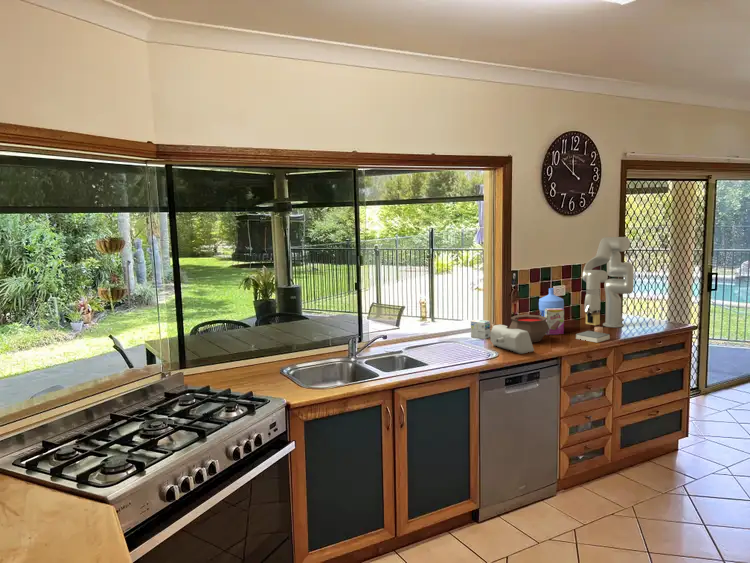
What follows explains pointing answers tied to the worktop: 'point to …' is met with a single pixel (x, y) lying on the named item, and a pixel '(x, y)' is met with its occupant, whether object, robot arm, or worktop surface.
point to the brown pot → (531, 325)
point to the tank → (511, 339)
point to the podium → (593, 336)
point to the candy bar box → (555, 321)
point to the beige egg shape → (598, 329)
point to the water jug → (550, 302)
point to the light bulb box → (480, 329)
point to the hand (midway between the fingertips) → (592, 321)
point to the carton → (594, 318)
